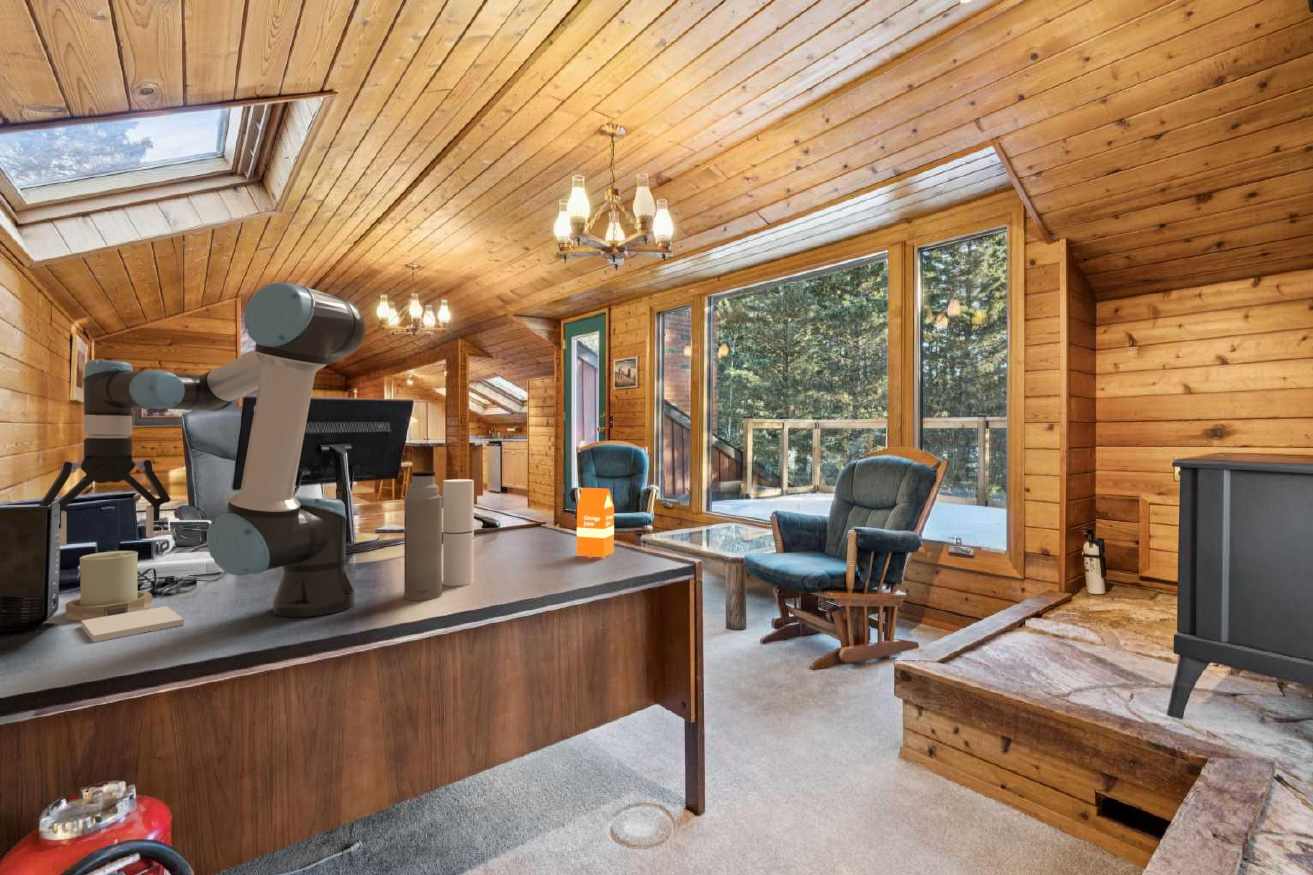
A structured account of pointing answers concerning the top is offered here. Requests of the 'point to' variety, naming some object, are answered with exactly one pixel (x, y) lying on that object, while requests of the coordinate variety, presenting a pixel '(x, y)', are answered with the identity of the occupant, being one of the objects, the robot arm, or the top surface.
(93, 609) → the collar
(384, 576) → the top surface
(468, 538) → the cylindrical container
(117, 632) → the beige base plate
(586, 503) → the orange juice
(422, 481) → the thermos bottle
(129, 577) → the can
